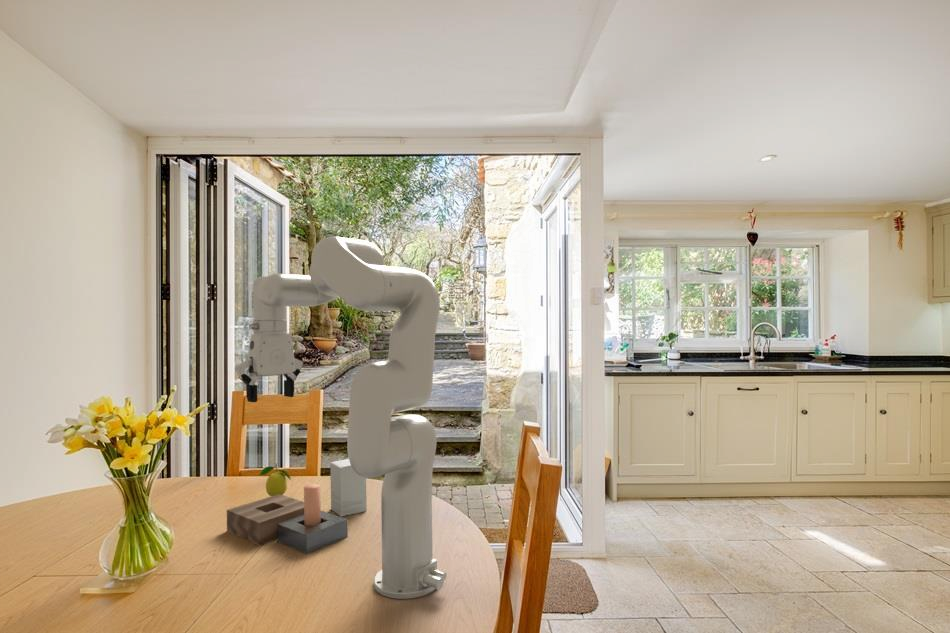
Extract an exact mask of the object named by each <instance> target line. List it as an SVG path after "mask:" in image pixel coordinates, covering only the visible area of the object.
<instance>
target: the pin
mask: <svg viewBox="0 0 950 633" xmlns="http://www.w3.org/2000/svg"><path fill="white" fill-rule="evenodd" d="M303 502H304V525H305V526H307V527H313V526H315V525H318V524H321V511H322V508H321V507H322V506H321V502H322V501H321V485H320V484H318V483H313V484H312V483H311V484H306V485H305V486H303Z"/></svg>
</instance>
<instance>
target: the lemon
mask: <svg viewBox="0 0 950 633" xmlns="http://www.w3.org/2000/svg"><path fill="white" fill-rule="evenodd" d="M277 467H278V462H276V463H275V466H266V467H264V468H263V469H262V470H261V471H260V472H259V476H265V475H267V474H269V473H271V472H272V471H273V470H274V469H275V471H274V472H273V473H271V474H270V475H269V476H268V478H267V480H266V483H265V491H266V493H267V495H268V496H269V497H271V496H274V495H278V494H280V495H284V494H285V493H286V491H287V488H288V482H287V478H288V479H289V480H290V481H291V477H290V476H291V475H289V473H288V472H287V471H285V470H284V469H278V468H277Z"/></svg>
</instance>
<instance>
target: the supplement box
mask: <svg viewBox="0 0 950 633" xmlns="http://www.w3.org/2000/svg"><path fill="white" fill-rule="evenodd" d="M329 463H330V468H329V469H330V470H329V471H330V510H332V511H333V512H334V513H335V514H337V516H339V517H345V516H351V515H355V514H359V513H363V512H367V510H368V509H367V506H368V505H367V478H366V477H362V476H360V475H358V474H357V473H356V472H355V471H354V470H353V468H352V466H351V464H350V461H349V458H348V459H347V458H346V459H341V460H336V461H331V462H329Z"/></svg>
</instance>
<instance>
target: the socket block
mask: <svg viewBox="0 0 950 633" xmlns="http://www.w3.org/2000/svg"><path fill="white" fill-rule="evenodd" d="M301 515H304V501H301V500H298V499H296V498H292V497H289V496H286V495H284V494H283V495H280V494H278V495H274V496H268V497H265V498H261V499H258V500H256V501H251V502H249V503H245V504H242V505H241V504H240V505H239V506H235V507H231V508H229V509H226V531H227V532H228V533H230V534H233V535H236V536H238V537H240V538H242V539H244V540H247V541H249V542H251V543H253V544H256V545H258V546H261V545H264V544H267V543H269V542H271V541H274V540H277V524H278V523H281V522H284V521H287V520H289V519H292V518H295V517H298V516H301Z"/></svg>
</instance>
